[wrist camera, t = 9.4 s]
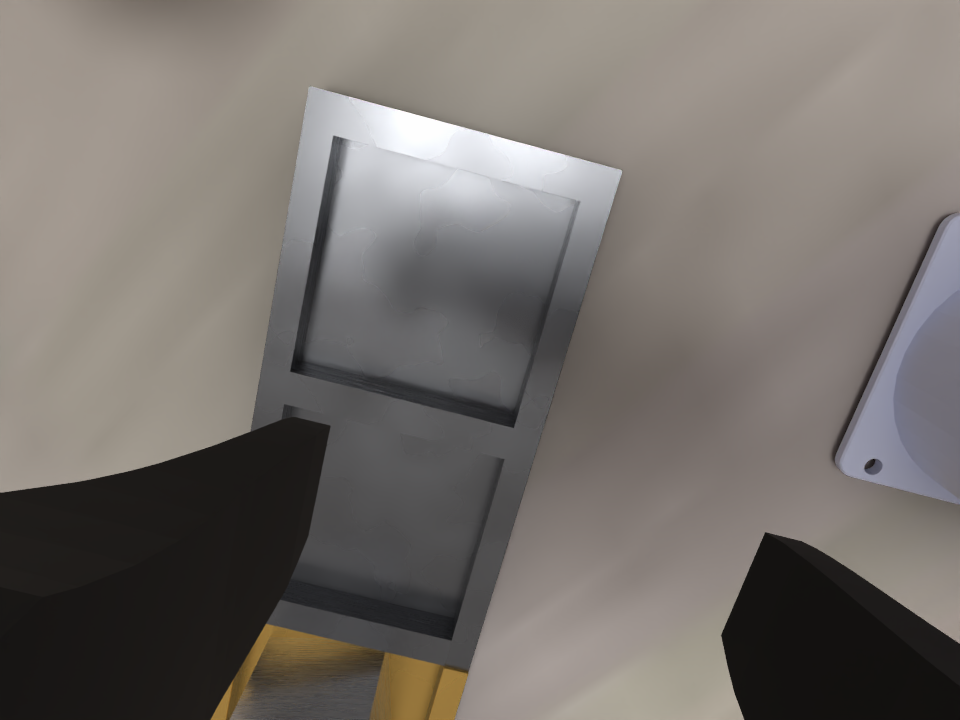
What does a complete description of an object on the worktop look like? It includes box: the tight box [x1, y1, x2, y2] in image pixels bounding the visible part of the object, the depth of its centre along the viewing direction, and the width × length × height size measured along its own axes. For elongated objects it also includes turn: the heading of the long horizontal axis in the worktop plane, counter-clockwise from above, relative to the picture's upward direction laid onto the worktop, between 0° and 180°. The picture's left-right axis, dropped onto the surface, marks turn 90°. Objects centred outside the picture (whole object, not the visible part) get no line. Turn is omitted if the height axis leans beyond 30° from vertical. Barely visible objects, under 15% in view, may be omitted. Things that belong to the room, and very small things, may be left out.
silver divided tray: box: [211, 86, 622, 720], centre depth 21 cm, size 8×24×2 cm, turn 166°
